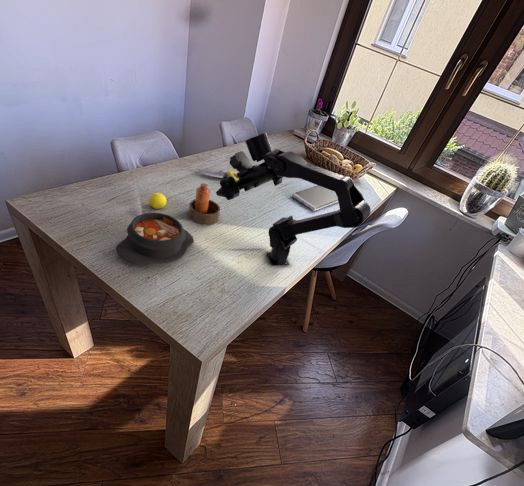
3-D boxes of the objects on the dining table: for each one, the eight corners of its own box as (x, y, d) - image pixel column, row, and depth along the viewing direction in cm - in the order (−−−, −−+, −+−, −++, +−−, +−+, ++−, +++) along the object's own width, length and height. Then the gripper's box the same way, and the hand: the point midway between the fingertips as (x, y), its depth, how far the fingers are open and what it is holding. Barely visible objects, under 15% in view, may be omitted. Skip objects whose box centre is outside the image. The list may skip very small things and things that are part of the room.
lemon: (153, 213, 126) (154, 200, 122) (144, 206, 128) (144, 192, 125) (170, 209, 131) (171, 195, 127) (161, 201, 133) (161, 188, 129)
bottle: (208, 218, 131) (212, 189, 123) (195, 217, 129) (198, 188, 121) (205, 210, 134) (209, 181, 126) (192, 210, 132) (195, 181, 124)
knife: (195, 177, 151) (253, 187, 157) (195, 171, 149) (254, 181, 155) (195, 168, 157) (252, 178, 162) (196, 162, 155) (253, 173, 160)
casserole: (167, 222, 125) (168, 200, 119) (206, 250, 119) (209, 228, 113) (102, 247, 108) (99, 223, 102) (143, 281, 102) (143, 258, 96)
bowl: (221, 226, 130) (223, 215, 127) (191, 225, 126) (192, 214, 123) (214, 209, 137) (216, 198, 134) (185, 208, 133) (186, 197, 130)
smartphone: (290, 196, 159) (292, 193, 158) (326, 185, 176) (327, 181, 174) (313, 212, 154) (315, 208, 152) (347, 198, 170) (349, 195, 169)
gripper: (266, 142, 115) (231, 159, 125) (231, 155, 102) (195, 173, 112) (279, 176, 118) (244, 190, 129) (246, 193, 106) (211, 207, 116)
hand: (225, 189), depth 121 cm, fingers open, 9 cm apart
